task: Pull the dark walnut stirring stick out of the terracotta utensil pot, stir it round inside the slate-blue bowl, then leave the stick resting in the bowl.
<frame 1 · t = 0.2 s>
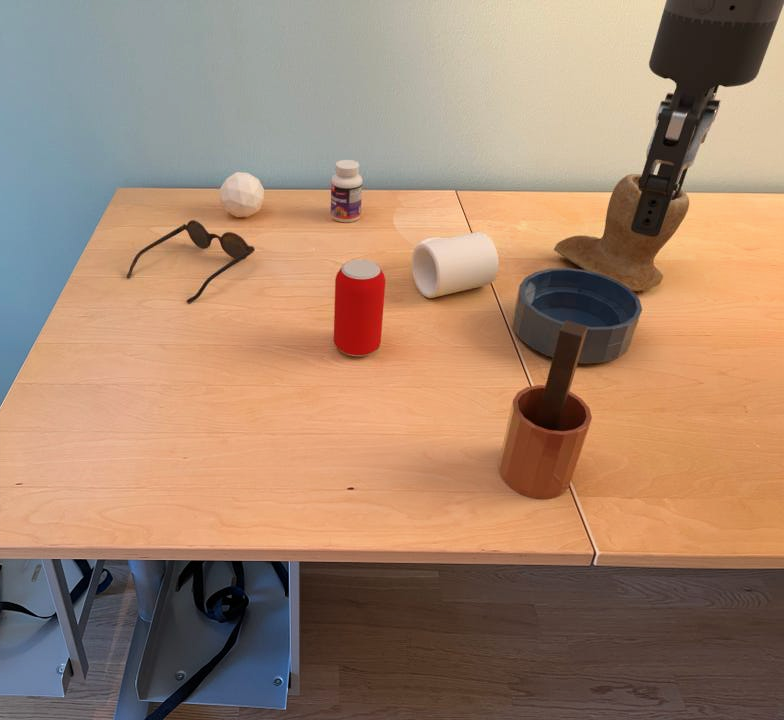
hand: (654, 214, 60), 28 cm above the table, tool pointing down, fingers open, 8 cm apart
eyeglasses: (189, 272, 109), on the table
pill bottle: (345, 217, 125), on the table
stick: (535, 468, 74), point 1 cm above the table, touching holder
mug: (443, 283, 106), on the table
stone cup: (612, 272, 109), on the table
beverage can: (356, 348, 93), on the table
bowl: (569, 334, 95), on the table
holder: (534, 472, 74), on the table
geometric ball: (243, 215, 125), on the table
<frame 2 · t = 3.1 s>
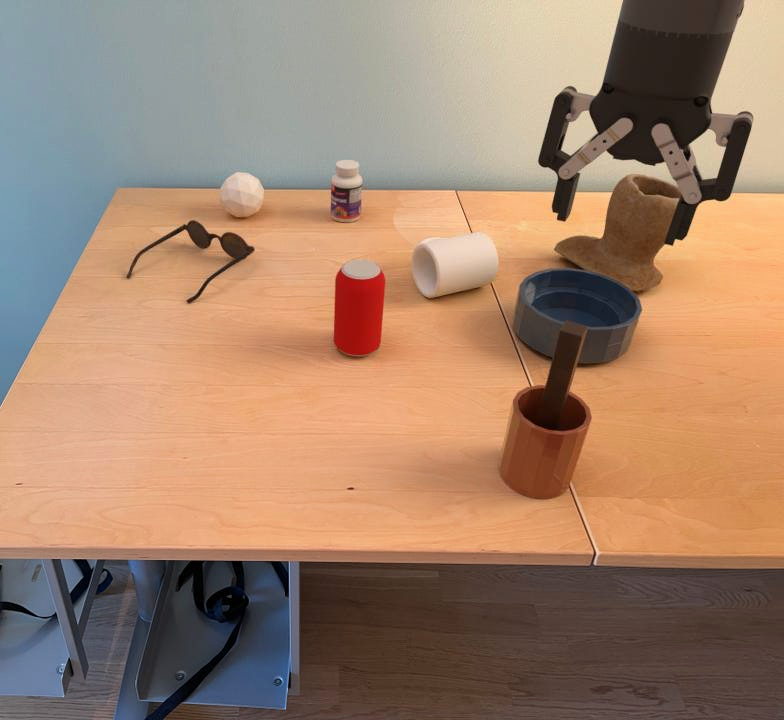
hand: (615, 229, 58), 28 cm above the table, tool pointing down, fingers open, 8 cm apart
nothing on the table moved.
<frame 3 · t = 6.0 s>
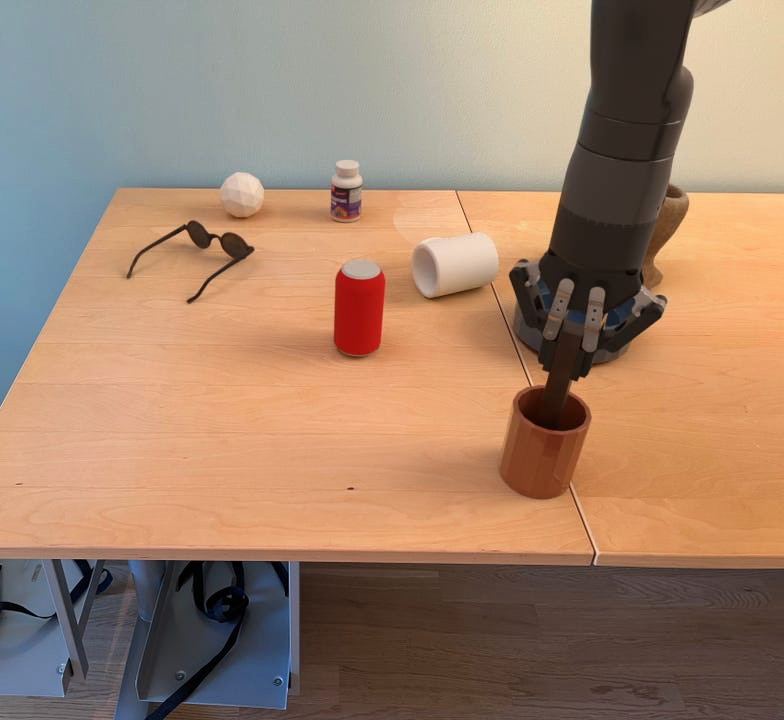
hand: (562, 371, 66), 14 cm above the table, tool pointing down, fingers closed on stick, 2 cm apart
stick: (535, 468, 74), point 1 cm above the table, touching gripper
everything else where it was.
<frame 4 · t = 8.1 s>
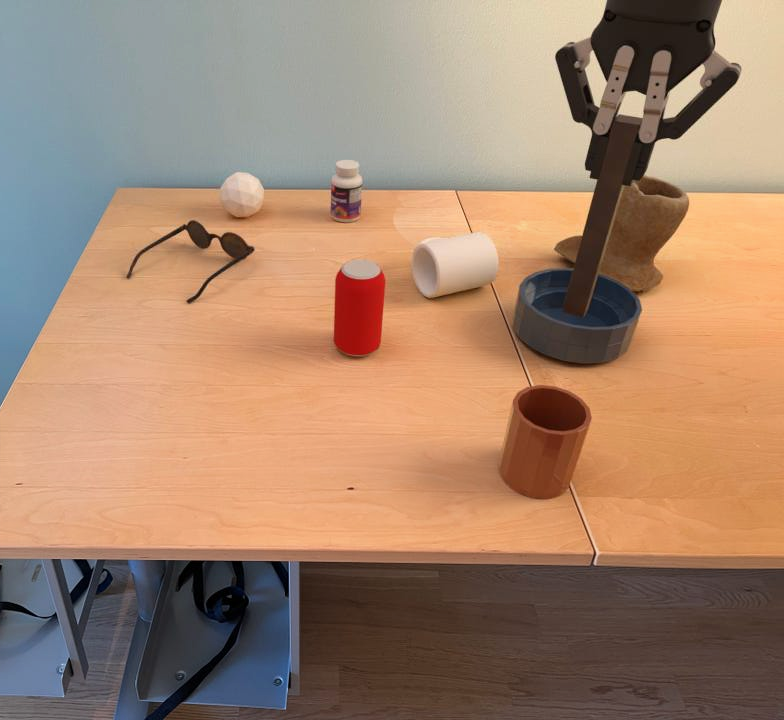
hand: (612, 178, 58), 31 cm above the table, tool pointing down, fingers closed on stick
stick: (575, 310, 66), point 18 cm above the table, touching gripper
everything else where it was.
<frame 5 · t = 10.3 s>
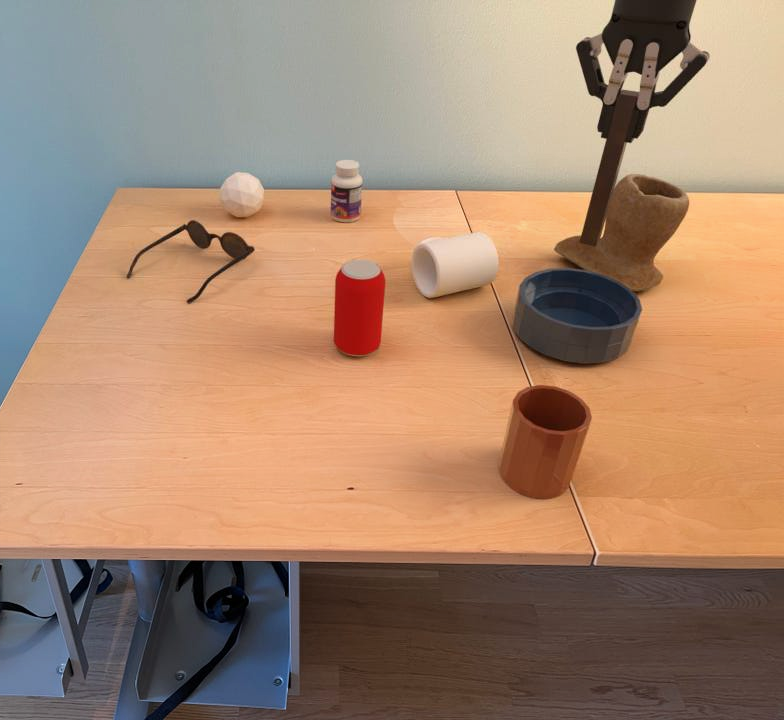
hand: (617, 138, 79), 27 cm above the table, tool pointing down, fingers closed on stick
stick: (589, 241, 87), point 14 cm above the table, touching gripper
everything else where it was.
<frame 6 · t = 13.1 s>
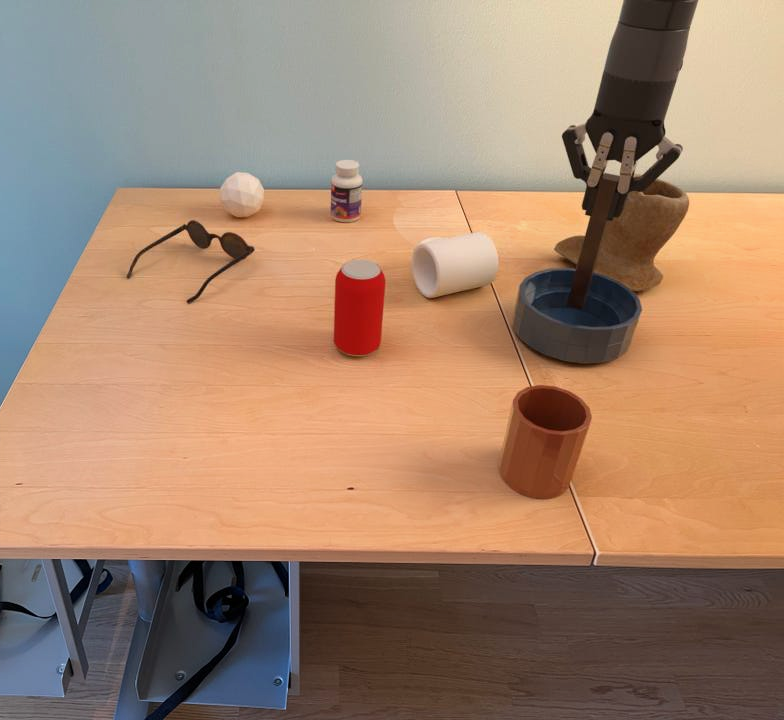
hand: (600, 215, 86), 17 cm above the table, tool pointing down, fingers closed on stick
stick: (575, 304, 94), point 4 cm above the table, touching gripper
everything else where it was.
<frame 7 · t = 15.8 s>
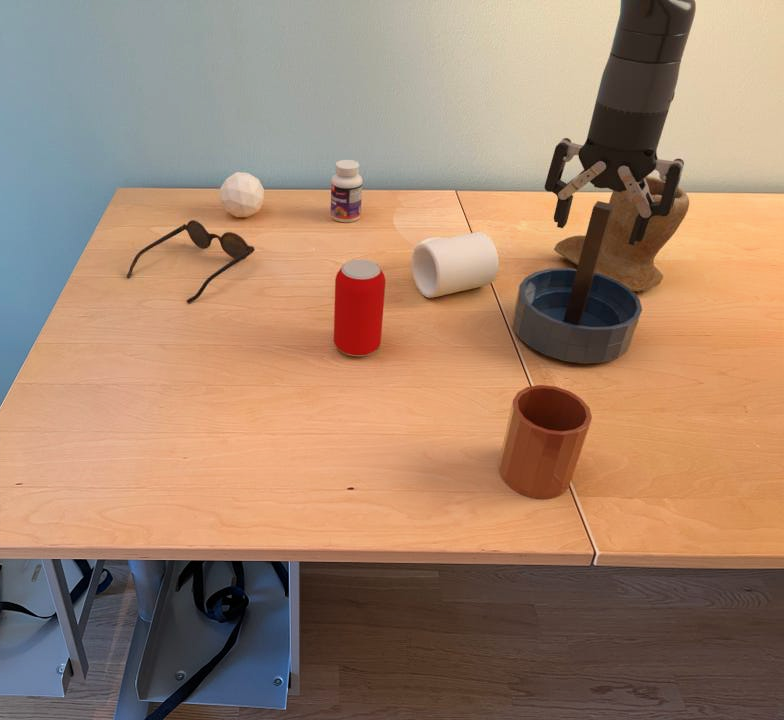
hand: (596, 233, 86), 15 cm above the table, tool pointing down, fingers open, 8 cm apart
stick: (569, 329, 94), point 1 cm above the table, touching bowl
everything else where it was.
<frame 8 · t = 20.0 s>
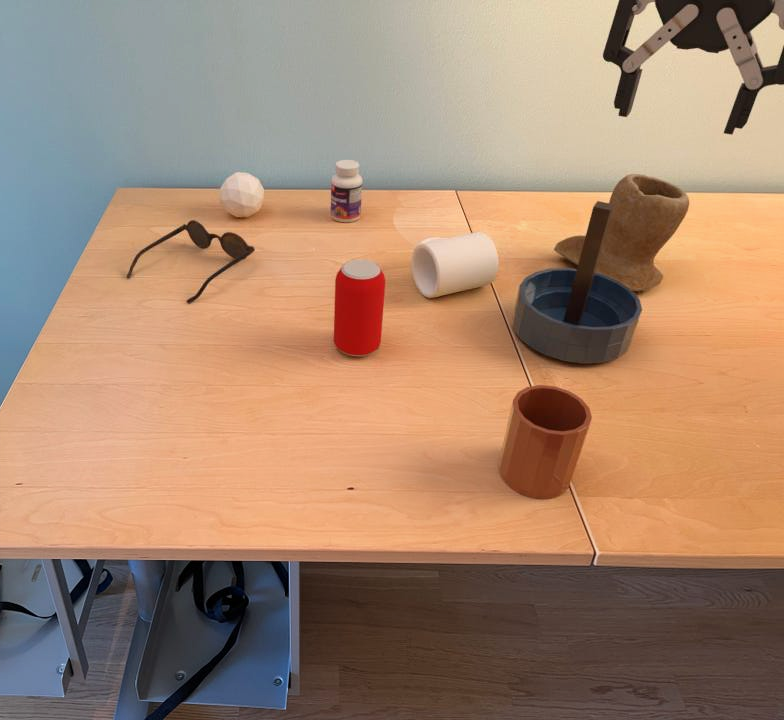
hand: (675, 122, 61), 34 cm above the table, tool pointing down, fingers open, 8 cm apart
nothing on the table moved.
at the end: stick inside the target area in the bowl (0.0 cm from its centre), point 0.8 cm above the bowl's base; stick moved 28.3 cm from its start; the gripper is holding nothing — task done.
